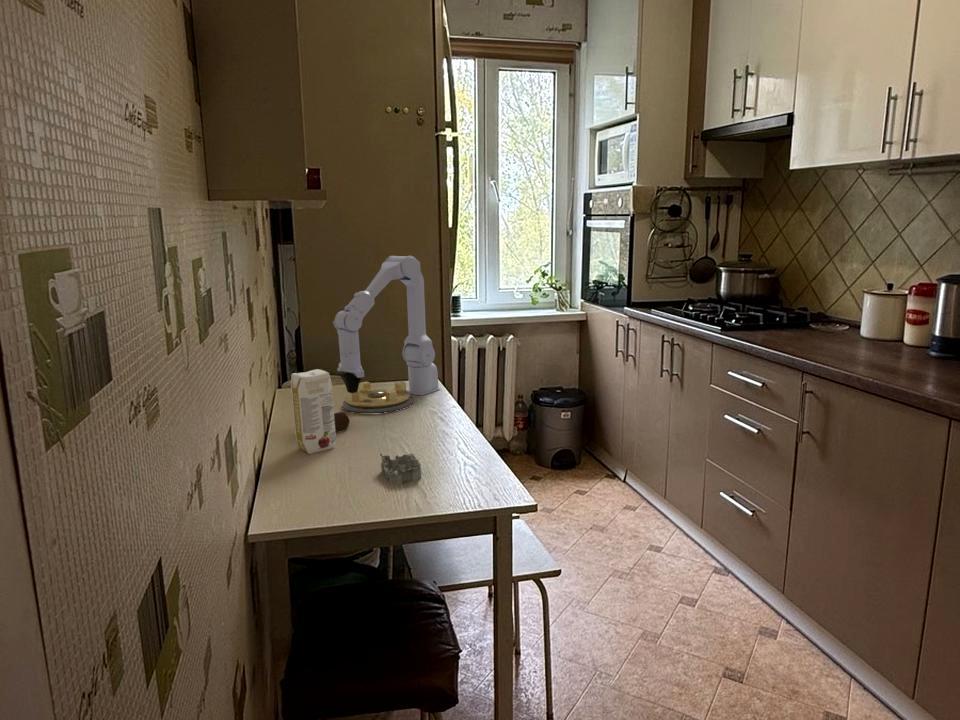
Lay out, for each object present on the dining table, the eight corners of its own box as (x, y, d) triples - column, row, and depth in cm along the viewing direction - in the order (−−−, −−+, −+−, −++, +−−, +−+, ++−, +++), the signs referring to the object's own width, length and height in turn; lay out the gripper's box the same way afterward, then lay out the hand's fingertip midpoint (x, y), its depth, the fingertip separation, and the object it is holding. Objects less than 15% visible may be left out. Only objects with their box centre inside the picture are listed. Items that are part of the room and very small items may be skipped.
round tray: (357, 391, 212) (356, 379, 211) (415, 391, 209) (415, 379, 209) (337, 408, 193) (336, 395, 193) (401, 408, 191) (400, 395, 190)
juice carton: (339, 447, 163) (333, 372, 159) (307, 456, 158) (300, 378, 154) (325, 440, 169) (319, 367, 165) (293, 448, 164) (286, 373, 160)
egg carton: (379, 470, 148) (378, 452, 147) (412, 465, 150) (411, 447, 150) (389, 487, 138) (387, 468, 137) (424, 481, 140) (423, 463, 140)
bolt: (318, 426, 188) (344, 436, 177) (302, 421, 185) (328, 430, 174) (325, 407, 189) (352, 415, 178) (310, 401, 186) (337, 409, 175)
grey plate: (378, 392, 216) (378, 388, 216) (427, 400, 204) (427, 396, 203) (328, 408, 200) (328, 403, 199) (378, 418, 187) (377, 413, 187)
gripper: (327, 350, 198) (331, 394, 201) (346, 357, 186) (349, 404, 189) (350, 347, 202) (353, 390, 205) (369, 354, 190) (372, 400, 193)
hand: (353, 397), depth 197 cm, fingers closed, pressing on round tray
